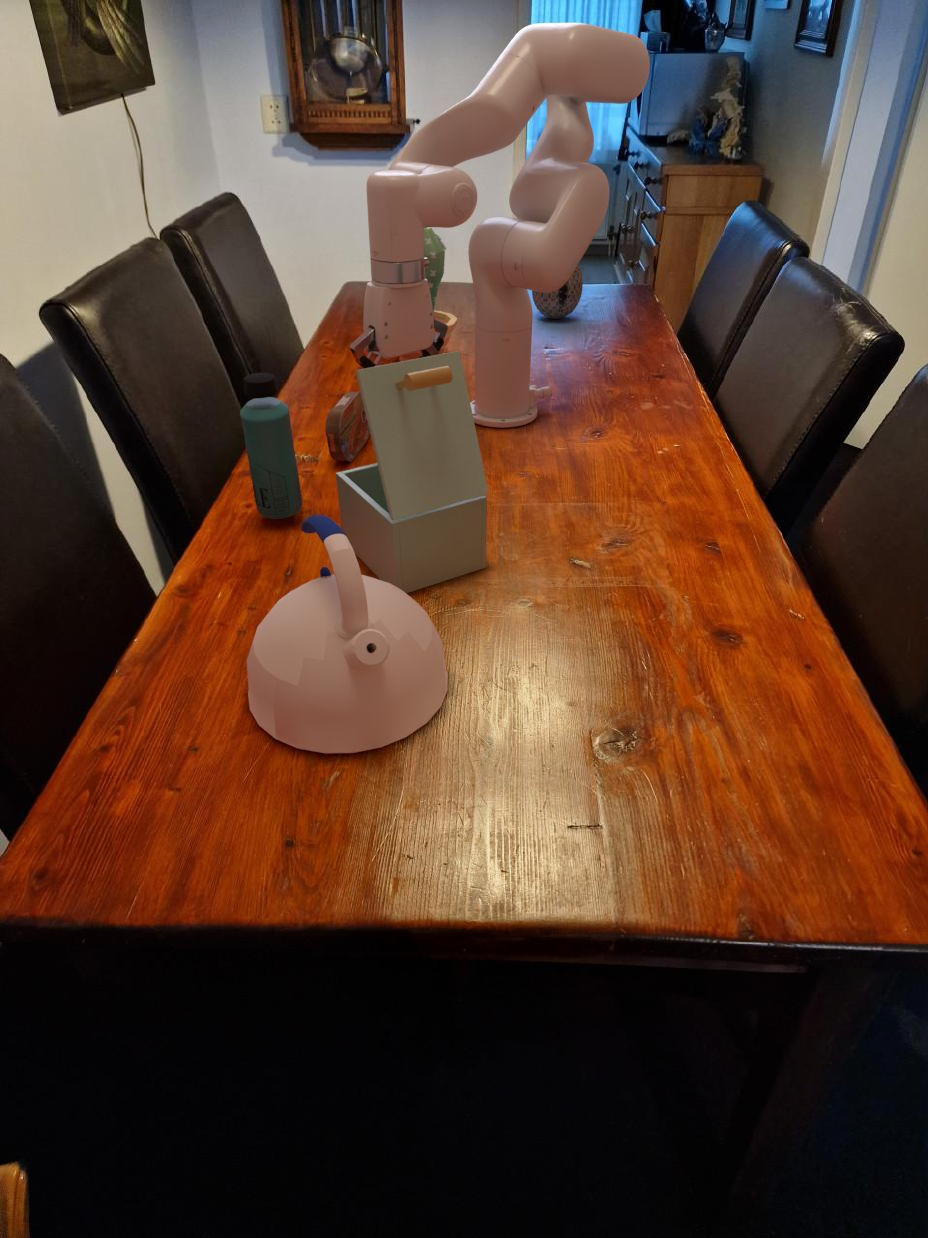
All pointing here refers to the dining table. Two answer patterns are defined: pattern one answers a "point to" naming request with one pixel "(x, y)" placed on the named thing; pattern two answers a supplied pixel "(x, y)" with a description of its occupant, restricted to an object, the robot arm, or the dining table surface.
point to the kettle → (344, 659)
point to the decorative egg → (560, 297)
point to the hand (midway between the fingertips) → (402, 390)
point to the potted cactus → (434, 284)
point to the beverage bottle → (270, 449)
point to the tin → (347, 427)
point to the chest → (410, 534)
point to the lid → (423, 433)
